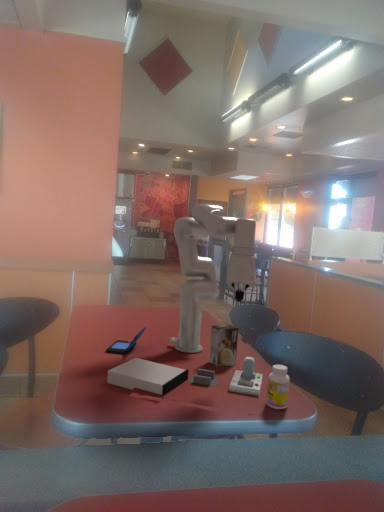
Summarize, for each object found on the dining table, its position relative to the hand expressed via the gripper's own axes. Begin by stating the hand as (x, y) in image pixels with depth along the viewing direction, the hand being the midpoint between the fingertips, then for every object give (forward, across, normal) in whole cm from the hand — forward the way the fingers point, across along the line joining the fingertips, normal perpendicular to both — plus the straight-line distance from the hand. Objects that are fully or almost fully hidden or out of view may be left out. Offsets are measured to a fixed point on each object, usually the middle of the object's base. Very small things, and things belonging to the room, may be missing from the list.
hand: (239, 301), depth 155 cm
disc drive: (+30, -27, -18) cm, 44 cm away
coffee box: (+29, -6, +12) cm, 32 cm away
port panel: (+29, +6, -8) cm, 31 cm away
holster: (+29, -9, -10) cm, 32 cm away
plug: (+29, +6, -4) cm, 30 cm away
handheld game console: (+30, -49, +14) cm, 59 cm away
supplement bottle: (+29, +17, -19) cm, 39 cm away
